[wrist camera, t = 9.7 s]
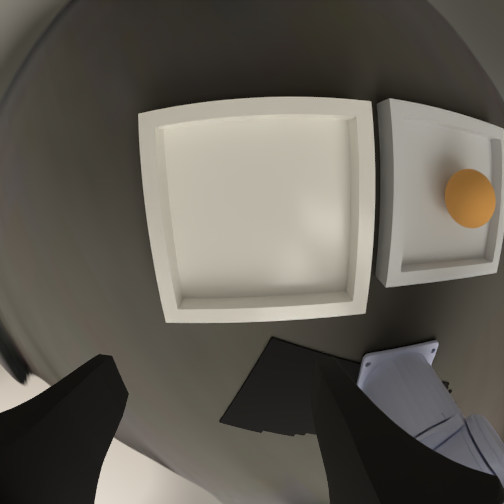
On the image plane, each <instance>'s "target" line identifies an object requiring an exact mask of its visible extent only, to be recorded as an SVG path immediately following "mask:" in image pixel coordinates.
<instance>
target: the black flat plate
mask: <svg viewBox="0 0 504 504" xmlns="http://www.w3.org/2000/svg"><path fill="white" fill-rule="evenodd" d="M326 357H334V358H335V359H336V360H337V361H338V362H339V364H340V365H341V366H342V367H343V369H344V370H345V371H346V372H347V374H348V375H349V376H350V377H351V378H352V380H353V381H354V382H355V383H356V384H357V380H358V376H359V372H360V368H361V364H360V363H357V362H353V361H349V360H346V359H342V358H338V357H335V356H331V355H328V354H325V353H321V352H318V351H315V350H311V349H308V348H305V347H302V346H298V345H295V344H292V343H289V342H286V341H283V340H280V339H277V338H274V337H272V338H271V340H270V342H269V343H268V345H267V347H266V348H265V350H264V352H263V353H262V355H261V357H260V358H259V360H258V362H257V363H256V365H255V367H254V368H253V370H252V372H251V373H250V375H249V376H248V378H247V380H246V381H245V383H244V384H243V386H242V388H241V389H240V391H239V392H238V394H237V396H236V397H235V399H234V400H233V402H232V403H231V405H230V406H229V408H228V409H227V411H226V413H225V414H224V416H223V417H222V419H221V420H220V423H224V424H227V425H231V426H235V427H239V428H243V429H247V430H251V431H255V432H260V433H261V432H262V431H268V432H273V433H278V434H283V435H289V436H294V435H295V434H299V435H305V434H306V433H309V434H316V430H315V426H314V420H313V413H312V404H311V393H312V385H313V376H314V366H315V359H317V358H326ZM442 383H443V384H444V386H445V387H446V389H448V385H449V383H446V382H442ZM448 392H449V393H451V392H452V391H451V390H449V391H448ZM316 435H317V434H316Z"/></svg>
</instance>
